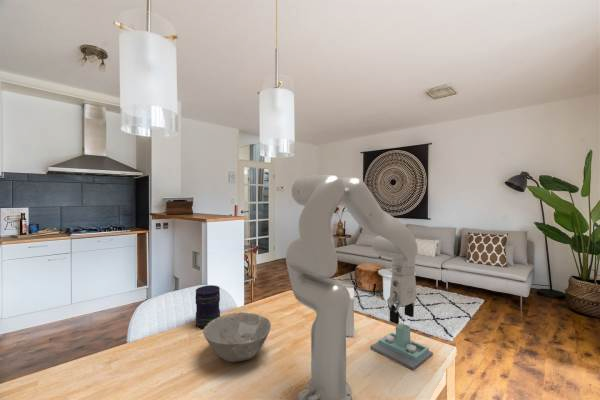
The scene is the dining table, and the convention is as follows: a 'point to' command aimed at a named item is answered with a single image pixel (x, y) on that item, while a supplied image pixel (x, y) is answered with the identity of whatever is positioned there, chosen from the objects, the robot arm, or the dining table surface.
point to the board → (398, 357)
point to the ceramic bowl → (237, 335)
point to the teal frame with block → (404, 343)
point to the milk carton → (350, 312)
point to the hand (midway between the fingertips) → (401, 319)
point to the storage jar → (207, 305)
